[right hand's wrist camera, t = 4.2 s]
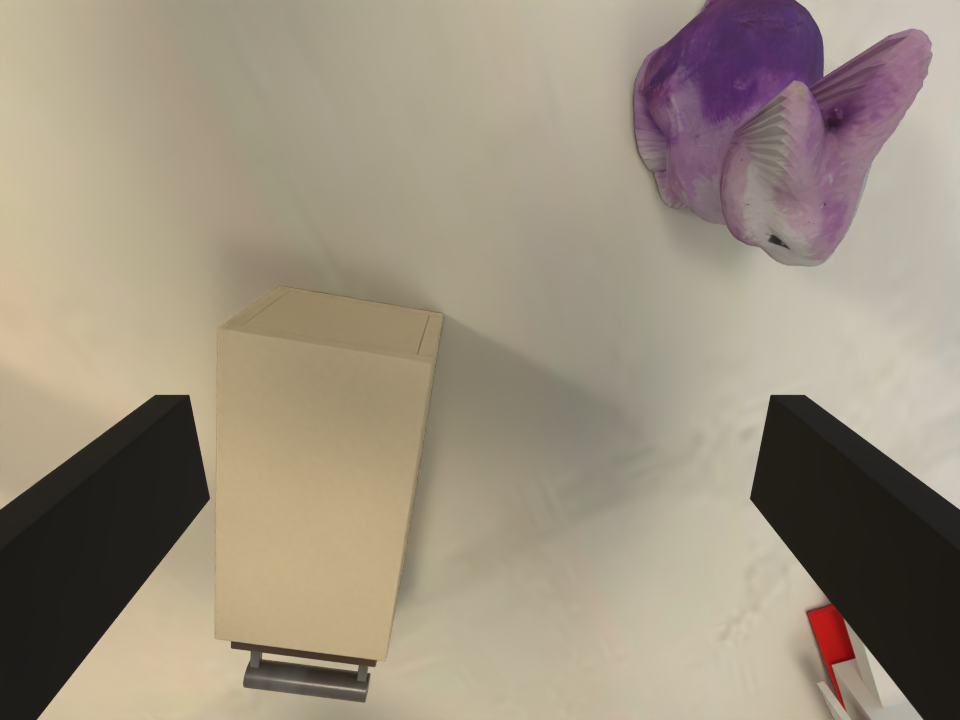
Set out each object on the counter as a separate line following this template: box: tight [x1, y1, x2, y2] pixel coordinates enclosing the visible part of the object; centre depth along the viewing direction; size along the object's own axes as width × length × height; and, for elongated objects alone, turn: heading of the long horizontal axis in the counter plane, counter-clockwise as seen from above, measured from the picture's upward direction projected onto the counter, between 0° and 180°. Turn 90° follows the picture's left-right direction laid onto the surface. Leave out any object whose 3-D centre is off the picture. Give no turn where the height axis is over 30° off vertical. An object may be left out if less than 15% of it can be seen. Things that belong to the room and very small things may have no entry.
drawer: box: [231, 641, 377, 703], centre depth 35 cm, size 24×9×7 cm, turn 170°
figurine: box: [634, 0, 933, 266], centre depth 23 cm, size 9×10×15 cm
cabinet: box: [215, 286, 444, 661], centre depth 34 cm, size 20×10×9 cm, turn 170°
